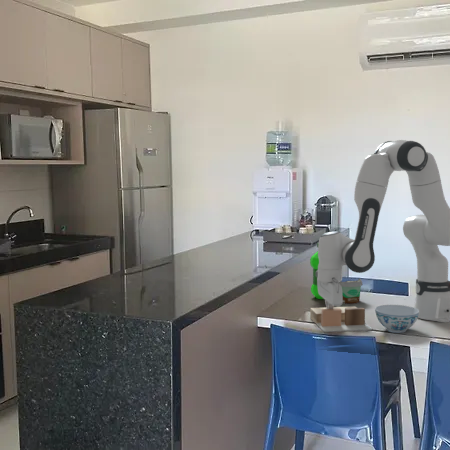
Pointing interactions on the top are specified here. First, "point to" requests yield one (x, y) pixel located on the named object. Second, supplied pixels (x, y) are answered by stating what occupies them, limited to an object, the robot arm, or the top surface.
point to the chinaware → (396, 317)
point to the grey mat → (344, 327)
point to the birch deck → (316, 312)
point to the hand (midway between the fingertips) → (329, 312)
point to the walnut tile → (354, 316)
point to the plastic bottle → (314, 263)
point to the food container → (351, 291)
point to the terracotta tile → (331, 317)
